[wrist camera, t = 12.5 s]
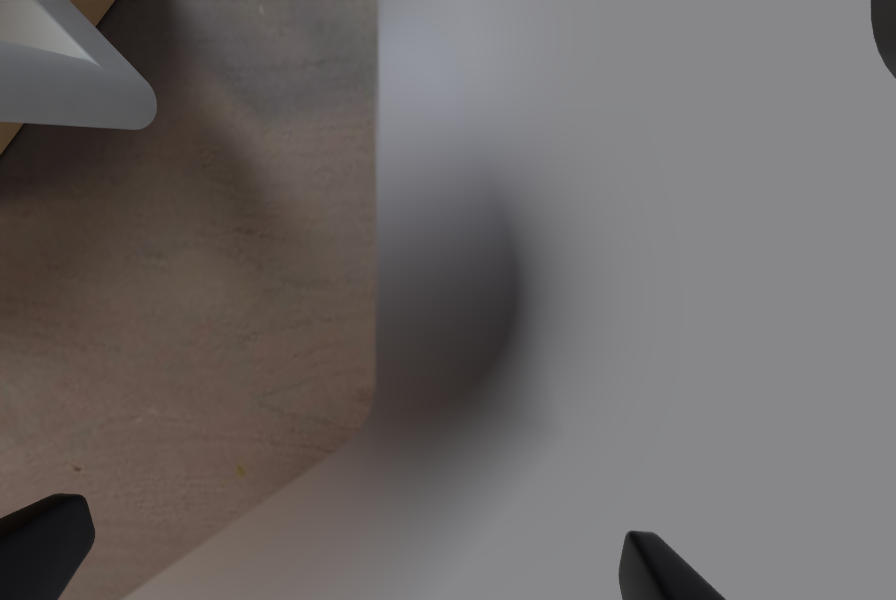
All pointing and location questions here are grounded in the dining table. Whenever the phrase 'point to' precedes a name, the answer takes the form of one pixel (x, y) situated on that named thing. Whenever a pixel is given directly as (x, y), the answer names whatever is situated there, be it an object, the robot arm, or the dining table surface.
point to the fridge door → (65, 70)
